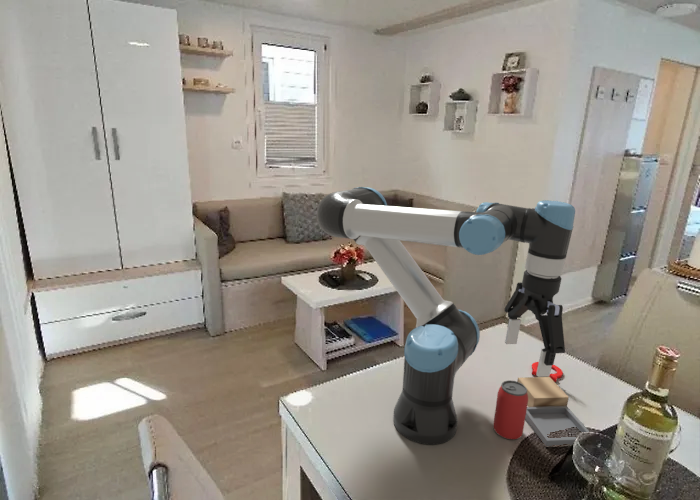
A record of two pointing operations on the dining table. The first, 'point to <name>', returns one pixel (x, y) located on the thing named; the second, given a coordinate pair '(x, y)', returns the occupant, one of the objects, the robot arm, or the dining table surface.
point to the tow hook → (552, 376)
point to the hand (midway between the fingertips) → (525, 358)
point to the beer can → (510, 410)
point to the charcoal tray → (553, 423)
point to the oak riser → (543, 392)
